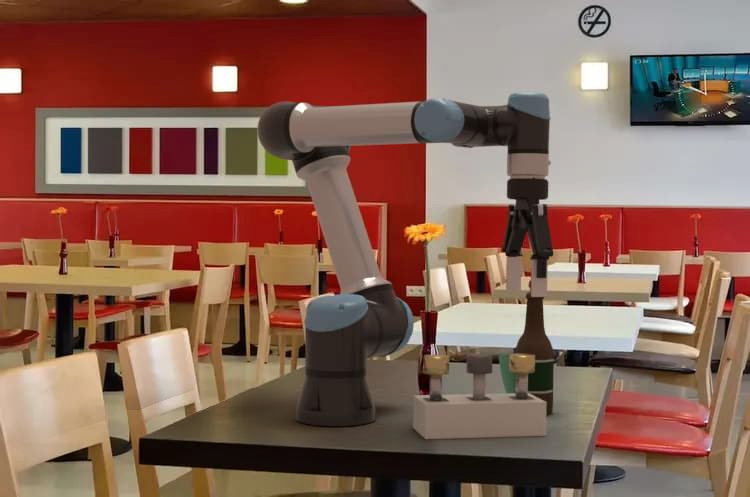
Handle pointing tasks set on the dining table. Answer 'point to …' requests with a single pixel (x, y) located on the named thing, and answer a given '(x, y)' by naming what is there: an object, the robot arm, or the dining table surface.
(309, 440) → the dining table surface
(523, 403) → the panel
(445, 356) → the knob left
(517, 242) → the robot arm
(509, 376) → the mug
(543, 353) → the beer bottle
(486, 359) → the knob mid
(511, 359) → the knob right
